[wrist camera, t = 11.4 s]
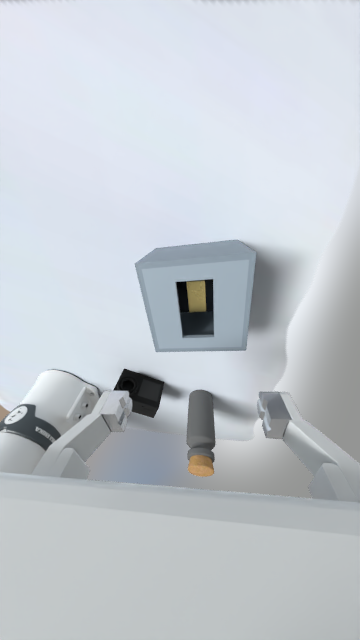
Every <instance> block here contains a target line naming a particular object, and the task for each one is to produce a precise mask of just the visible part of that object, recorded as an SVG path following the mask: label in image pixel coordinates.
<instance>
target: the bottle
mask: <svg viewBox="0 0 360 640" xmlns="http://www.w3.org/2000/svg"><path fill="white" fill-rule="evenodd" d="M187 444H188V446H189V447H190V448H191V449H190V450H189V451H188V460H189V461H190V462H189V466H188V470H189V472H190V473H191V474H193V475H196V476H211V475H212V474H214V469H213V464H212V463H213V462H214V453H213V452H212V451H211V450H212V449H213V448H214V447H215V429H214V414H213V400H212V395H211V394H210V393H209V392H207V391H204V390H196V391H193V392H192V393H191V394H190V396H189V409H188V425H187Z"/></svg>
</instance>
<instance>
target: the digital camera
mask: <svg viewBox="0 0 360 640" xmlns="http://www.w3.org/2000/svg"><path fill="white" fill-rule="evenodd" d="M163 386H164V382H162V381H159V380H157V379H154V378H151V377H148V376H145V375H142V374H139V373H136V372H133V371H130V370H126V369H124V370H123V372H122V374H121V376H120V378H119V380H118V382H117V384H116V386H115V388H114V390H113V391H128V392H129V397H130V398H131V399H132V412H136V413H139V414H142V415H146V416H149V417H152V418H154V416H155V414H156V412H157V410H158V408H159V404H160V400H161V395H162V390H163Z"/></svg>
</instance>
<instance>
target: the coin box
mask: <svg viewBox="0 0 360 640" xmlns="http://www.w3.org/2000/svg"><path fill="white" fill-rule="evenodd" d="M255 261H256V252H255V251H254V250H252V249H251V248H249V247H248V246H246V245H245V244H243V243H242V242H240V241H239V240H229V241H220V242H210V243H201V244H192V245H182V246H173V247H164V248H156V249H154V250H153V251H152V252H150V253H149V254H148V255H146V256H145V257H143V258H142V259H141V260H139V261H138V262H137V263H135V267H136V271H137V275H138V279H139V284H140V288H141V292H142V296H143V300H144V305H145V309H146V313H147V317H148V321H149V325H150V330H151V334H152V338H153V342H154V346H155V351H156V352H185V351H243V350H246V346H247V336H248V327H249V318H250V308H251V299H252V290H253V280H254V271H255ZM207 279H213V306H214V311H206V312H186V313H180V307H179V299H178V291H177V283H176V282H181V281H194V280H207Z"/></svg>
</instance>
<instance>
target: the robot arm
mask: <svg viewBox="0 0 360 640" xmlns="http://www.w3.org/2000/svg"><path fill="white" fill-rule="evenodd" d="M257 408H258V413H259V417H260V418H261V419H262V420H263V424H262V426H263V430H264V433H265V436H266V438H273V439H283V441H284V442H285V443H286V445H287V446H288V447H289V448H290V449H291V450H292V451H293V453H294V454H295V455H296V456H297V457H298V458H299V460H300V461H301V462H302V463H303V464H304V465H305V466H306V468H307V469H308V470H309V471H310V472H311V473H312V474H313V475H314V478H313V480H312V481H311V483H310V484H309V486H308V489H309V491H310V494H311V496H312V499H311V498H299V497H288V496H276V495H264V494H252V493H239V492H228V491H217V490H204V489H193V488H181V487H169V486H158V485H145V484H134V483H121V482H110V481H99V480H87V477H88V475H89V472H90V468H89V467H88V466H87V464H86V463H85V462H86V461H87V459H88V458H89V457H90V456H91V455H92V454H93V453H94V451H95V450H96V449H97V448H98V447H99V446H100V445H101V443H102V442H103V441H104V440H105V439H106V438H107V437H108V436H109V434H110V433H111V432H124V430H125V428H126V425H127V422H128V420H127V417H128V416H129V415H130V414H131V411H132V399H131V398H130V397H129V392H128V391H113V390H105V391H104V392H103V393H102V395H101V397H100V399H99V395H98V391H97V388H96V387H94V386H92V385H90V384H87V383H85V382H83V381H82V380H80V379H79V378H77V377H75V376H73V375H71V374H69V373H66V372H63V371H58V370H47V371H44V372H42V373H41V374H40V375H39V377H38V379H37V381H36V382H35V384H34V385H33V387H32V388H31V390H30V391H29V392H28V394H27V395H26V396H25V398H24V399H23V400H22V401H21V403H20V404H19V405H18V406H17V407H16V408H15V409H14V410H13V411H11V412H10V413H9V414H8V415H7V416H6V417H5V418H4V419H3V420H2V421H1V422H0V640H360V464H359V463H358V462H357V461H356V460H355V459H353V458H352V457H351V456H350V455H348V454H347V453H346V452H344V450H342V449H341V448H340V447H339V446H337V445H336V444H335V443H334V442H332V441H331V440H330V439H329V438H328V437H326V436H325V435H324V434H323V433H321V432H320V431H319V430H318V429H317V428H315V427H314V426H313V425H312V424H310V423H309V422H308V421H306V420H303V418H302V416H301V414H300V412H299V410H298V409H297V407H296V405H295V403H294V401H293V399H292V397H291V395H290V394H289V393H288V392H259V400H258V402H257Z"/></svg>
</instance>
